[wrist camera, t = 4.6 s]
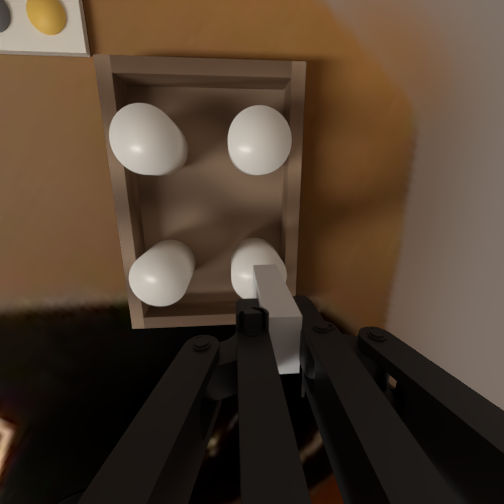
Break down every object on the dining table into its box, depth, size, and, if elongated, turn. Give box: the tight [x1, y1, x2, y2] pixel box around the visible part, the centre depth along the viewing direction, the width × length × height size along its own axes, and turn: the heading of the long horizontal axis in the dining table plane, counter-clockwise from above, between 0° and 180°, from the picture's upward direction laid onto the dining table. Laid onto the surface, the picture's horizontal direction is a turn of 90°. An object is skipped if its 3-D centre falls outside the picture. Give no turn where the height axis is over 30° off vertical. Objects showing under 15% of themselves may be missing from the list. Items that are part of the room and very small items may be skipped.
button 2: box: [228, 105, 292, 176], centre depth 18 cm, size 4×4×4 cm
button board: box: [93, 54, 306, 329], centre depth 21 cm, size 20×14×3 cm
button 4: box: [109, 103, 188, 176], centre depth 17 cm, size 4×4×4 cm
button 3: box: [129, 239, 196, 306], centre depth 20 cm, size 4×4×4 cm
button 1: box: [231, 238, 287, 299], centre depth 20 cm, size 4×4×4 cm
